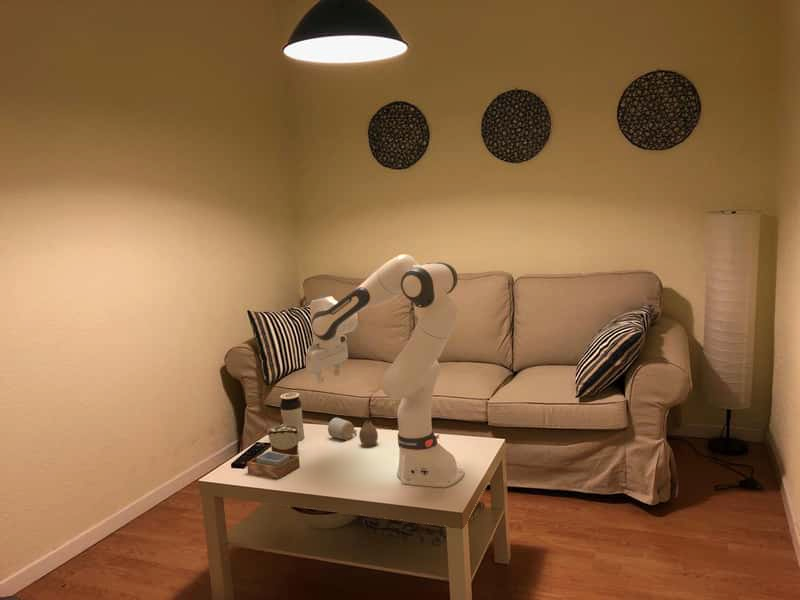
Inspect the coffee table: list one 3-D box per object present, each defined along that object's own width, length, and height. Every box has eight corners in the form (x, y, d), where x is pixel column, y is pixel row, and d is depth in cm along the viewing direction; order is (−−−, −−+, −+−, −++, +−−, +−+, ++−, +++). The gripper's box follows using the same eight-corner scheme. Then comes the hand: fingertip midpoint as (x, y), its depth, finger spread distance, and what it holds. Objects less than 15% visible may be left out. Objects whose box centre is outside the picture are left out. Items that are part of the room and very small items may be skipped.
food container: (305, 448, 261) (302, 423, 259) (301, 454, 255) (298, 429, 253) (273, 449, 262) (271, 424, 260) (269, 456, 256) (266, 430, 254)
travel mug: (306, 435, 276) (302, 391, 273) (301, 442, 268) (297, 397, 265) (286, 435, 276) (282, 392, 274) (281, 443, 269) (277, 398, 266)
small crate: (290, 467, 242) (289, 455, 241) (278, 473, 237) (277, 461, 236) (269, 463, 247) (267, 451, 247) (257, 469, 242) (256, 457, 242)
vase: (362, 441, 264) (360, 419, 262) (379, 441, 263) (378, 419, 261) (358, 448, 257) (356, 425, 256) (376, 447, 256) (374, 425, 255)
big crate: (300, 467, 243) (299, 456, 242) (278, 479, 234) (277, 468, 233) (270, 461, 251) (269, 450, 250) (247, 473, 241) (246, 462, 241)
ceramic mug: (343, 443, 264) (341, 423, 263) (328, 439, 269) (326, 420, 268) (361, 434, 272) (360, 416, 271) (347, 431, 277) (345, 412, 276)
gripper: (313, 348, 234) (317, 387, 236) (349, 335, 251) (352, 372, 253) (299, 347, 237) (303, 386, 240) (335, 334, 254) (338, 371, 257)
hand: (328, 378), depth 246 cm, fingers open, 8 cm apart
